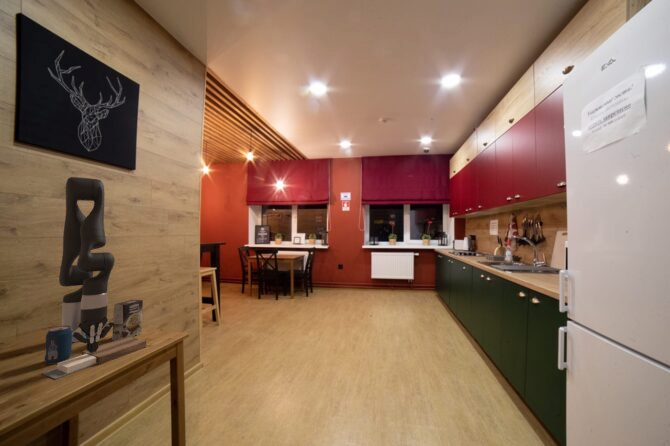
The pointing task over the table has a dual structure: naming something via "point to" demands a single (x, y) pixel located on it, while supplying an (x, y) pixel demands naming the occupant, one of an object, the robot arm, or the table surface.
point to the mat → (61, 372)
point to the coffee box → (127, 319)
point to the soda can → (58, 344)
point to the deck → (116, 349)
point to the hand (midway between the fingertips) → (92, 351)
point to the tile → (76, 363)
